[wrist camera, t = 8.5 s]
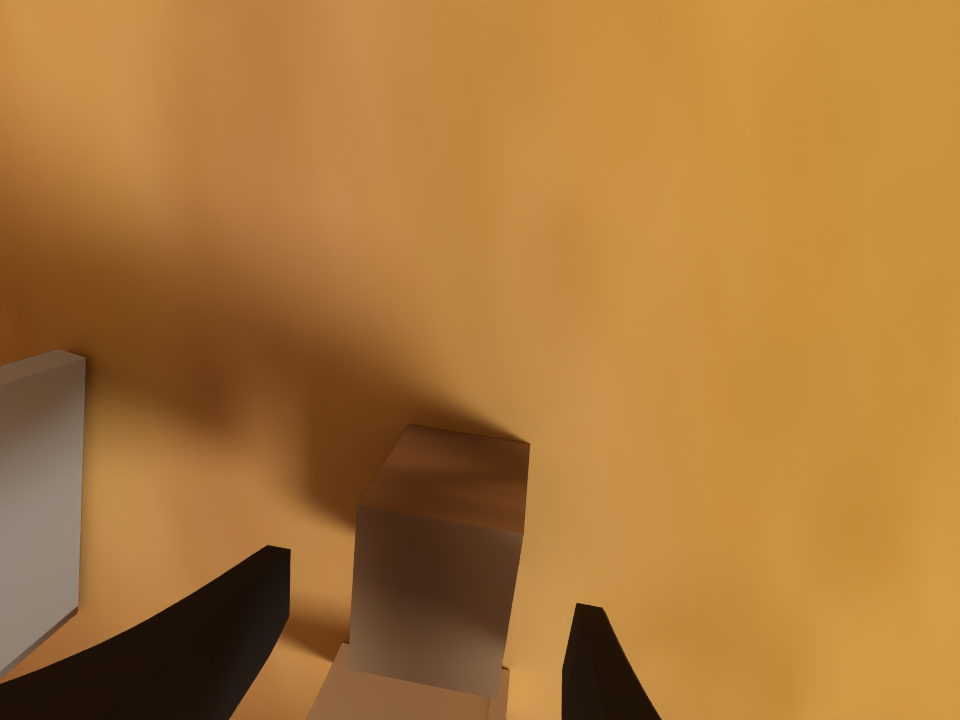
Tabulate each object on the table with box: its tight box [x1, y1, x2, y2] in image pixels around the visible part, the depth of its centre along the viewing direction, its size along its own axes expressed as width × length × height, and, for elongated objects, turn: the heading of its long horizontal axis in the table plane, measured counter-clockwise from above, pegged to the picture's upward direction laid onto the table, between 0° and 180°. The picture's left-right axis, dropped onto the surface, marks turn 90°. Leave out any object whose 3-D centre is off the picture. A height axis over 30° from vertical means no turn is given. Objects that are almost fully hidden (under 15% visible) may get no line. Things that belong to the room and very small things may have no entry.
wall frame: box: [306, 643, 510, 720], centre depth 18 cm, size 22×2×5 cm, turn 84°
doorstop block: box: [348, 424, 530, 699], centre depth 16 cm, size 4×5×5 cm
